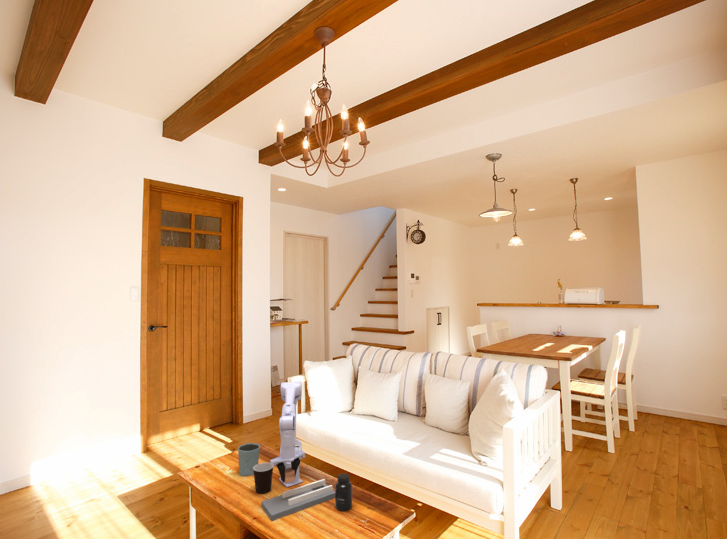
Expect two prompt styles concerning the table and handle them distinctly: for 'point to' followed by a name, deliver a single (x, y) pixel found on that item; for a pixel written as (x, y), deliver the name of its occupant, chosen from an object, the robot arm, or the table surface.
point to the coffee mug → (263, 477)
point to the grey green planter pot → (248, 458)
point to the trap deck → (280, 506)
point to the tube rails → (307, 495)
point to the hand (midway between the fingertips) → (288, 479)
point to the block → (289, 475)
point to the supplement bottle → (343, 493)
